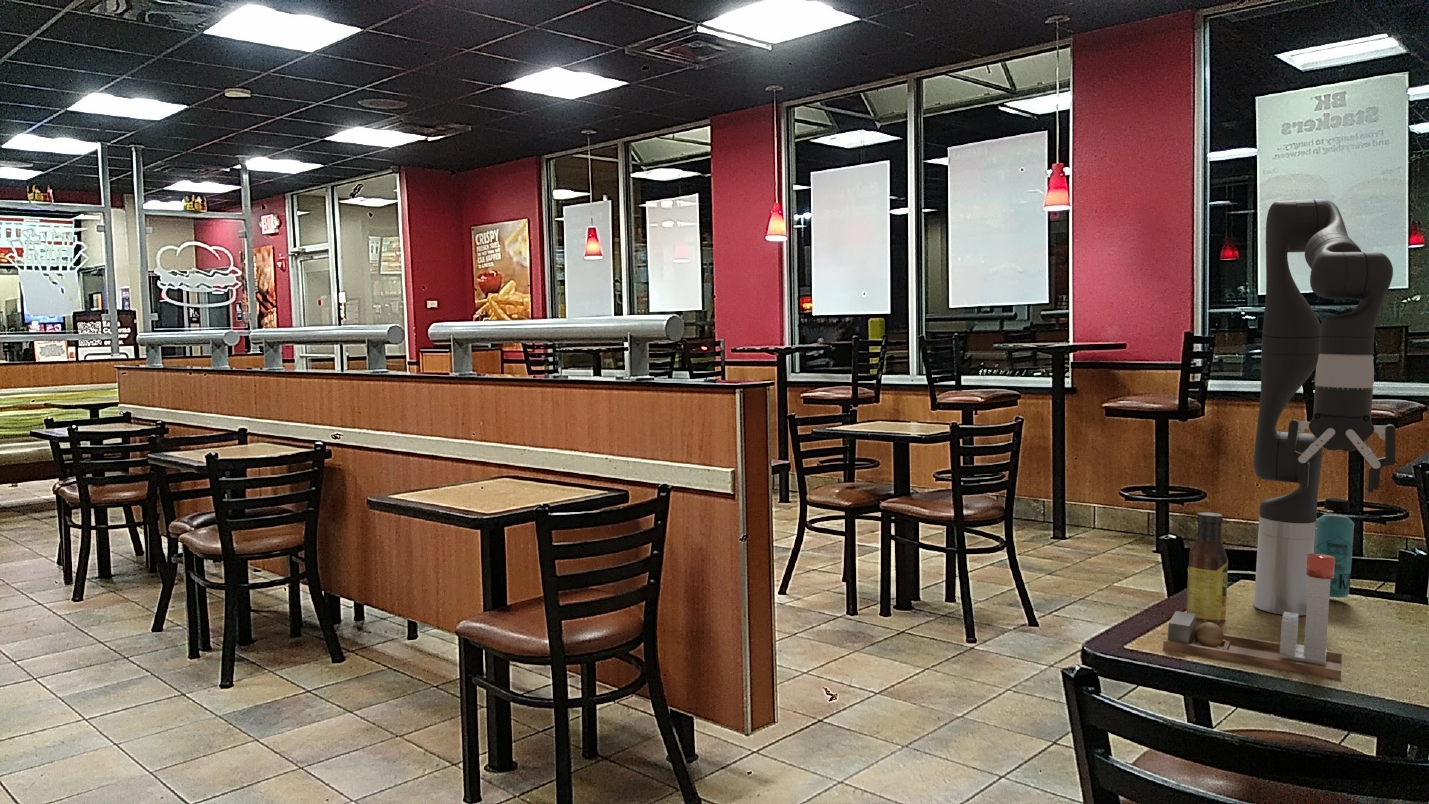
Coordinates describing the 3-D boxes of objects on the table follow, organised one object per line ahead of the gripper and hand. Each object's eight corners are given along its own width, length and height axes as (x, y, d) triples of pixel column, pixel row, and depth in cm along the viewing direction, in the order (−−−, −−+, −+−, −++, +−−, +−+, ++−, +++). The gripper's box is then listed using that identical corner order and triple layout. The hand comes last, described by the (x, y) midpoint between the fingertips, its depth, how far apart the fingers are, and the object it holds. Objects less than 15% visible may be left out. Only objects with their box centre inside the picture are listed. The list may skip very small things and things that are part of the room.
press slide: (1328, 658, 155) (1335, 553, 154) (1327, 672, 149) (1334, 562, 148) (1281, 651, 159) (1288, 548, 157) (1278, 663, 153) (1285, 556, 151)
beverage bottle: (1303, 595, 198) (1309, 495, 196) (1337, 596, 198) (1344, 495, 196) (1321, 605, 192) (1328, 501, 190) (1357, 606, 191) (1364, 502, 190)
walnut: (1191, 642, 163) (1192, 618, 163) (1217, 643, 163) (1218, 619, 162) (1200, 650, 159) (1201, 625, 159) (1226, 652, 159) (1228, 627, 158)
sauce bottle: (1229, 632, 174) (1236, 518, 172) (1190, 629, 175) (1197, 516, 173) (1218, 621, 180) (1225, 511, 179) (1181, 618, 181) (1187, 509, 180)
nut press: (1340, 669, 156) (1342, 634, 155) (1339, 689, 147) (1342, 652, 147) (1171, 641, 168) (1173, 609, 168) (1162, 657, 160) (1164, 624, 160)
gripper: (1399, 385, 153) (1392, 491, 154) (1291, 381, 160) (1285, 482, 162) (1400, 387, 146) (1393, 498, 148) (1288, 383, 154) (1282, 488, 155)
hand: (1337, 489), depth 155 cm, fingers open, 8 cm apart
